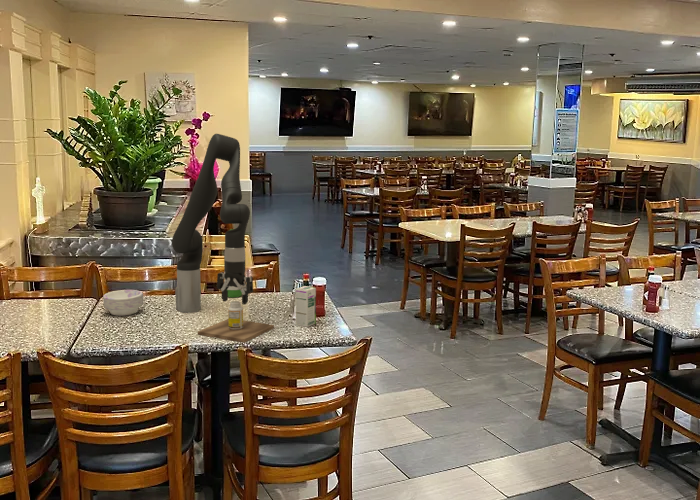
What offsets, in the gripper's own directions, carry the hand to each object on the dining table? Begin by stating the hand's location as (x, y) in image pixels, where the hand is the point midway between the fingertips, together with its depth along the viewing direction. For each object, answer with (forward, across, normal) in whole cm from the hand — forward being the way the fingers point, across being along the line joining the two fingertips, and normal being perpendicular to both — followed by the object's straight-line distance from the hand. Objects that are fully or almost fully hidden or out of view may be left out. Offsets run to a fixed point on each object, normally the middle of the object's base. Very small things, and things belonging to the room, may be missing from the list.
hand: (234, 302), depth 247 cm
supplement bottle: (+10, 0, 0) cm, 10 cm away
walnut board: (+11, 0, 0) cm, 11 cm away
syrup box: (+11, +18, +21) cm, 30 cm away
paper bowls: (+12, -54, 0) cm, 55 cm away
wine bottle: (+12, -32, +44) cm, 56 cm away
